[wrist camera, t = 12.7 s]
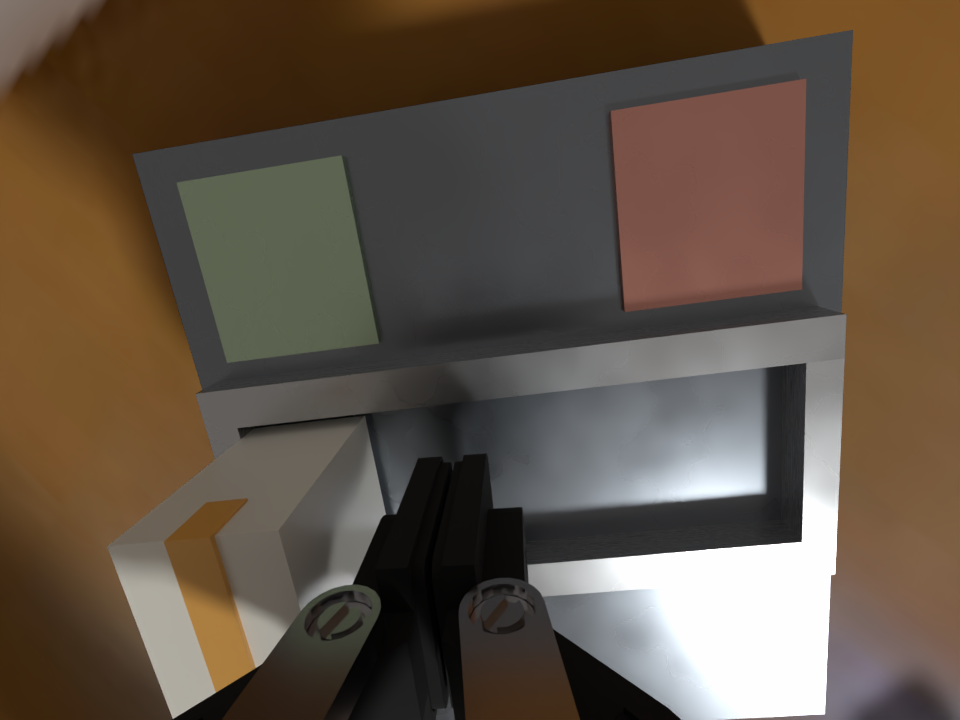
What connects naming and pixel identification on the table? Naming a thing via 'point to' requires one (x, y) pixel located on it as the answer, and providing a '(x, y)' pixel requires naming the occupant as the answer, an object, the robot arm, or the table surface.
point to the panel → (566, 336)
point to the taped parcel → (248, 551)
